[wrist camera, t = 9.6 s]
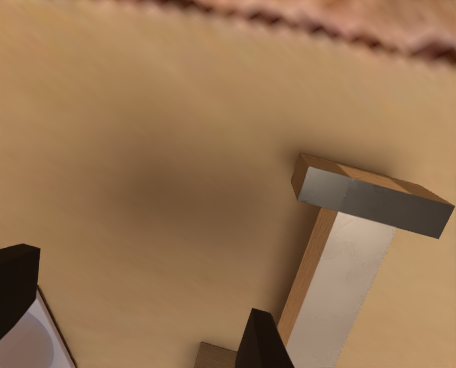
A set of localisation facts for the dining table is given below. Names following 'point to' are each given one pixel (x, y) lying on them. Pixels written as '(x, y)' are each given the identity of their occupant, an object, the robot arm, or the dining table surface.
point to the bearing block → (215, 357)
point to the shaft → (346, 250)
